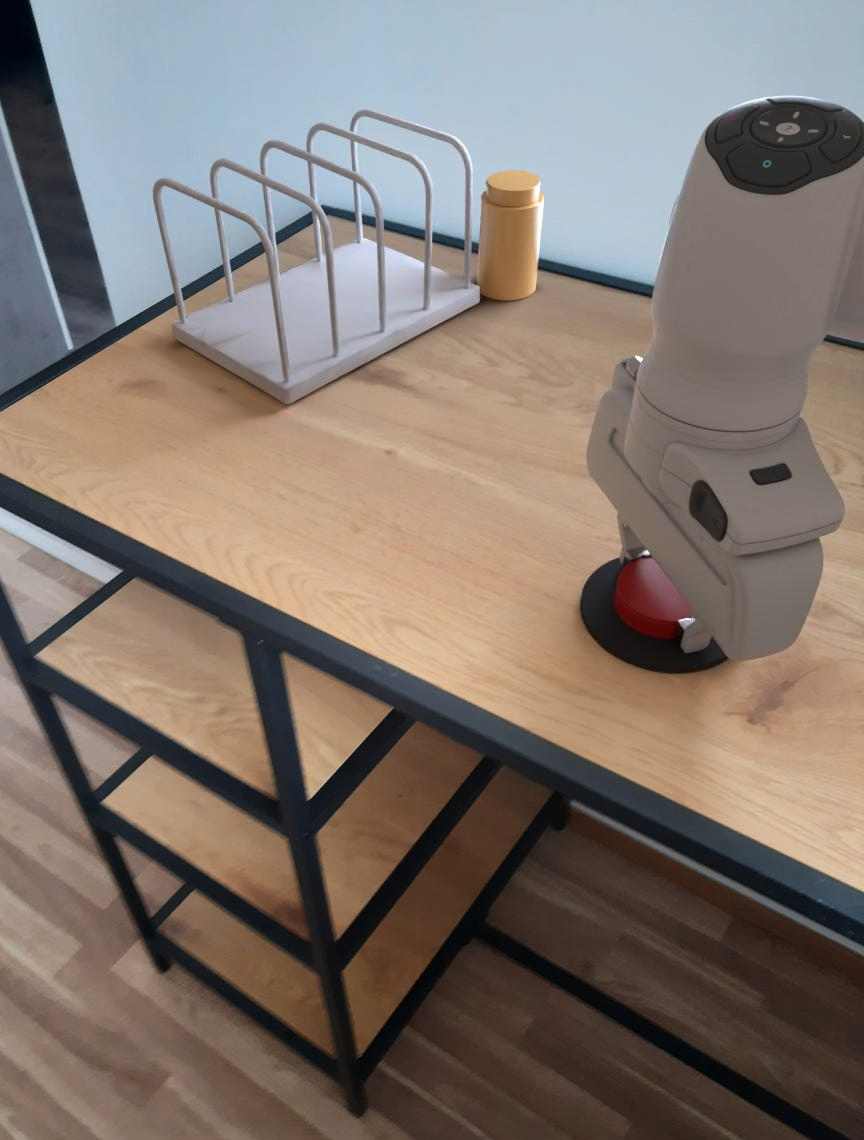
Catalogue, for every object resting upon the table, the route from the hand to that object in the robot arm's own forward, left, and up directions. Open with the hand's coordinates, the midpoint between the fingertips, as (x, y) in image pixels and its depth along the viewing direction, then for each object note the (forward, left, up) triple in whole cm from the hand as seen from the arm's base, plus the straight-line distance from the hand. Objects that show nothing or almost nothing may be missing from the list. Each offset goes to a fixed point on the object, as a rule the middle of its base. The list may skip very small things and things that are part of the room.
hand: (661, 604), depth 63 cm
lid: (0, 0, +1) cm, 1 cm away
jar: (-8, -47, -1) cm, 48 cm away
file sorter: (+11, -46, -1) cm, 47 cm away
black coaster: (0, 0, -1) cm, 1 cm away
